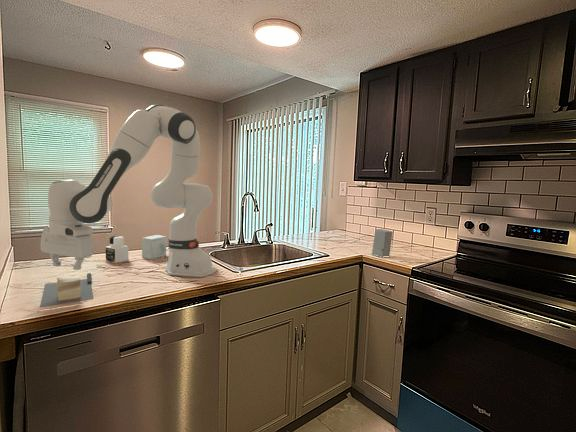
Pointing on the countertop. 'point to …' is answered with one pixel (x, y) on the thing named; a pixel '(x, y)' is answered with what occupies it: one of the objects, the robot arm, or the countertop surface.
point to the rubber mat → (52, 299)
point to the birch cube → (68, 288)
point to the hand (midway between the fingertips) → (67, 267)
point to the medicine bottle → (117, 250)
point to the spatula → (88, 266)
